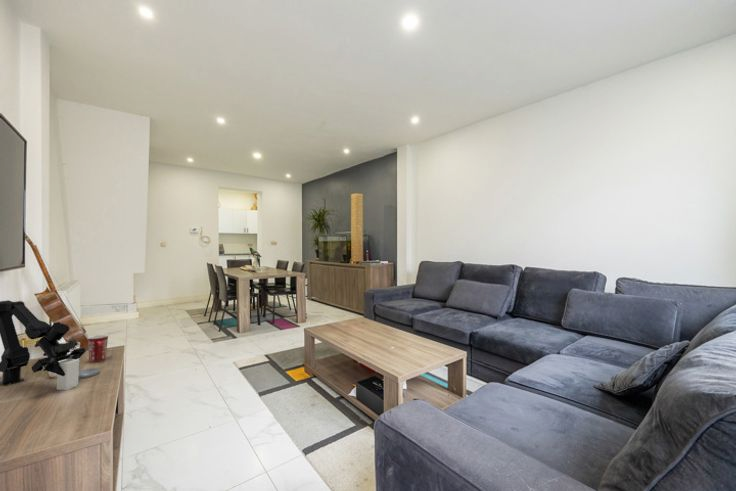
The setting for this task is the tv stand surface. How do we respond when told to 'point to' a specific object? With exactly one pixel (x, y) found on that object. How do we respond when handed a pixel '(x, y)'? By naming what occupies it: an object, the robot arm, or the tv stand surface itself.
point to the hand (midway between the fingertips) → (70, 373)
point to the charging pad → (88, 373)
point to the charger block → (68, 374)
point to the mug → (97, 347)
